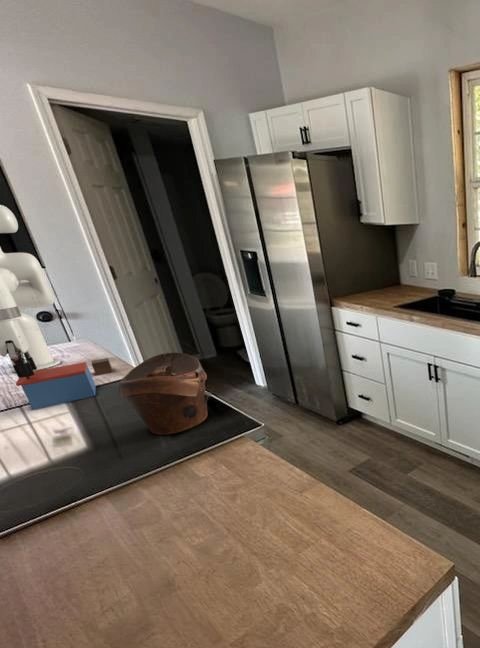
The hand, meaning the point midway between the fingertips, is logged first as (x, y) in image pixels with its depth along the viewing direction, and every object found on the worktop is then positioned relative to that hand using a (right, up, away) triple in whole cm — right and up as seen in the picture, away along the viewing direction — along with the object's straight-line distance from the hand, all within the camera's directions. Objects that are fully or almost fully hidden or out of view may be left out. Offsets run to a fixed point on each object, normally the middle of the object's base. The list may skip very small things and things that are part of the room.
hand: (28, 372), depth 124 cm
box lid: (+4, -1, +4) cm, 5 cm away
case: (+56, -14, -12) cm, 59 cm away
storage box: (+4, -8, +7) cm, 11 cm away
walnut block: (-4, 0, +28) cm, 28 cm away
